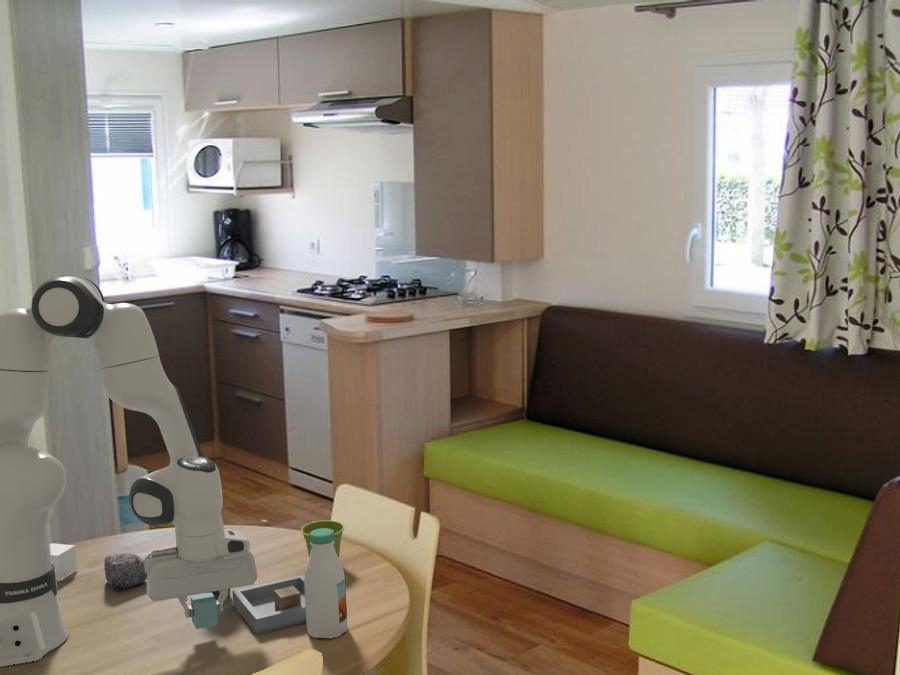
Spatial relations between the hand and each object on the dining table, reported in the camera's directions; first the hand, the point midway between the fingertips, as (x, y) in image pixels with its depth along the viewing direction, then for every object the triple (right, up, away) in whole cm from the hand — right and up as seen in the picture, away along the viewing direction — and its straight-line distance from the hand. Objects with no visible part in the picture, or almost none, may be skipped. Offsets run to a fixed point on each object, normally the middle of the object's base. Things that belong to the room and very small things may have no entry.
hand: (204, 613), depth 205 cm
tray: (+13, -2, +12) cm, 18 cm away
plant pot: (+19, +2, +34) cm, 39 cm away
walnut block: (+15, -2, +8) cm, 17 cm away
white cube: (-40, 0, +33) cm, 52 cm away
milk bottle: (+23, -4, +2) cm, 24 cm away
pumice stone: (-22, -1, +27) cm, 35 cm away
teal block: (0, -2, 0) cm, 2 cm away
